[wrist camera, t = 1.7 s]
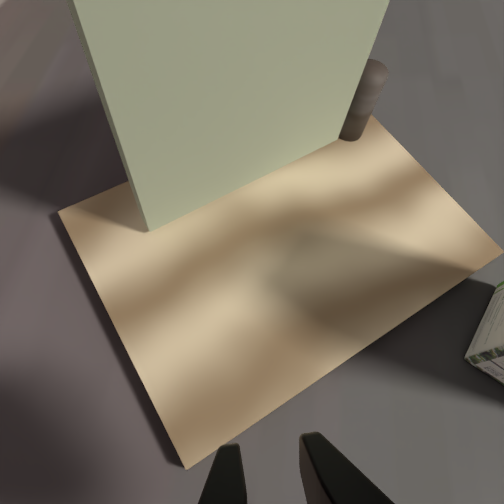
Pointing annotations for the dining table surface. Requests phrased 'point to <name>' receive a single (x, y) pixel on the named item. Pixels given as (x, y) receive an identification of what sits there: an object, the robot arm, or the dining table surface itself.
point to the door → (221, 88)
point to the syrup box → (490, 339)
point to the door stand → (275, 275)
